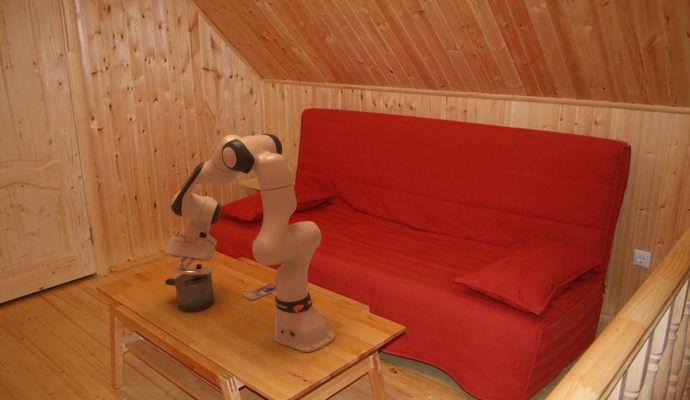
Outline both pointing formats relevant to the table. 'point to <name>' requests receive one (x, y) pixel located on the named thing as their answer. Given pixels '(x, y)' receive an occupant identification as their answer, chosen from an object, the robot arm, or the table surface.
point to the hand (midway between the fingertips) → (182, 269)
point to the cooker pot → (193, 292)
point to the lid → (194, 270)
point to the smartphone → (260, 292)
